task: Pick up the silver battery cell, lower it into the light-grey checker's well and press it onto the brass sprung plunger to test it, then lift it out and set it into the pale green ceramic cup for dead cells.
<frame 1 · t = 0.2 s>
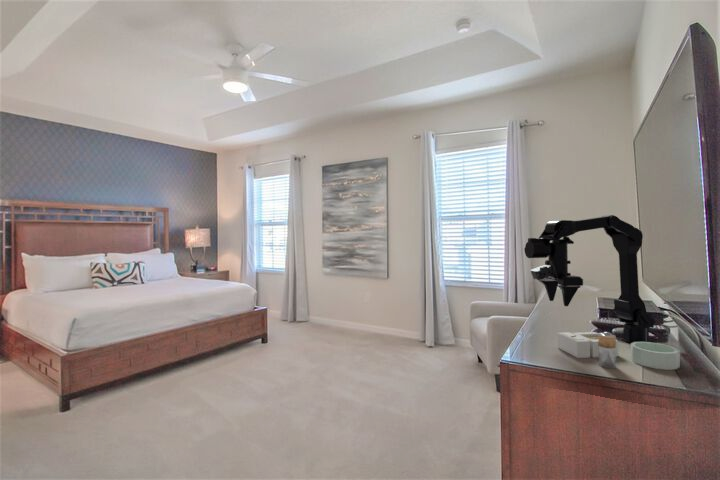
hand: (558, 303, 120), 14 cm above the table, fingers open, 9 cm apart
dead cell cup: (654, 362, 103), on the table
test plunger: (594, 340, 113), point 4 cm above the table, slide at 0.0 cm
battery cell: (607, 365, 101), on the table
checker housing: (594, 351, 113), on the table
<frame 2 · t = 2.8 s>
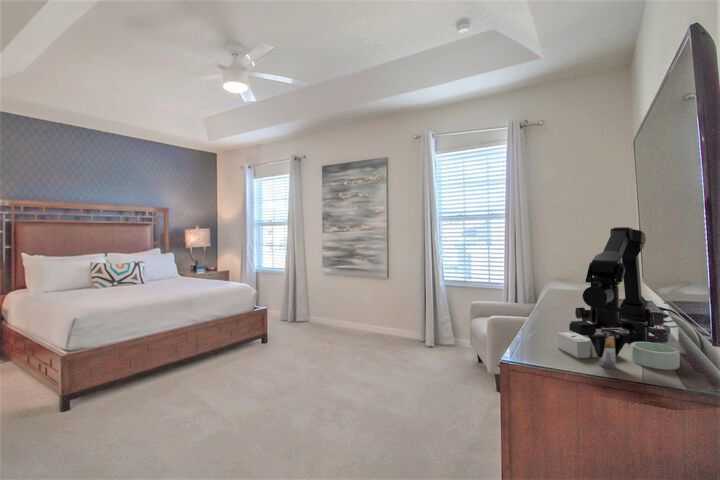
hand: (607, 357, 101), 3 cm above the table, fingers closed on battery cell, 4 cm apart
battery cell: (607, 365, 101), on the table, touching gripper
everything else where it was.
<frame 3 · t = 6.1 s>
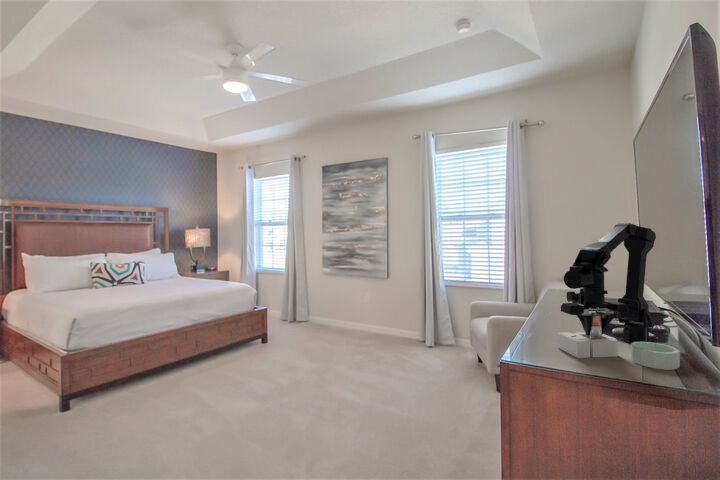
hand: (594, 334, 113), 5 cm above the table, fingers closed on battery cell, 4 cm apart
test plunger: (594, 344, 113), point 2 cm above the table, slide at -1.2 cm, touching battery cell
battery cell: (594, 342, 113), point 3 cm above the table, touching gripper, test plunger
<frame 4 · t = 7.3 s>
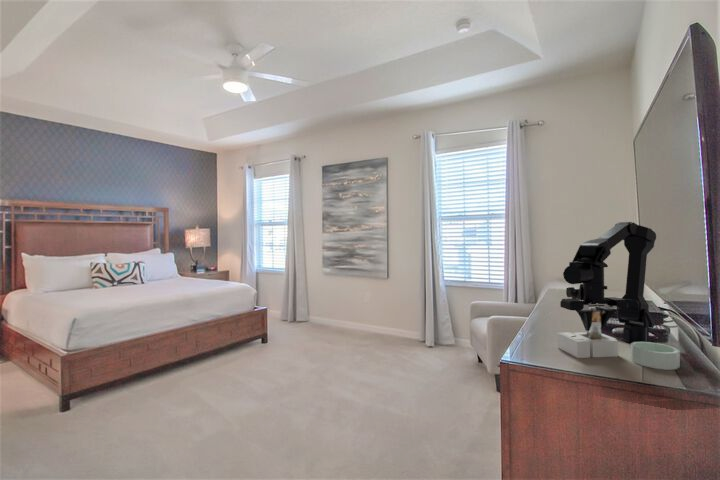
hand: (593, 330, 113), 7 cm above the table, fingers closed on battery cell, 4 cm apart
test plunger: (594, 342, 113), point 3 cm above the table, slide at -0.6 cm
battery cell: (594, 338, 113), point 4 cm above the table, touching gripper
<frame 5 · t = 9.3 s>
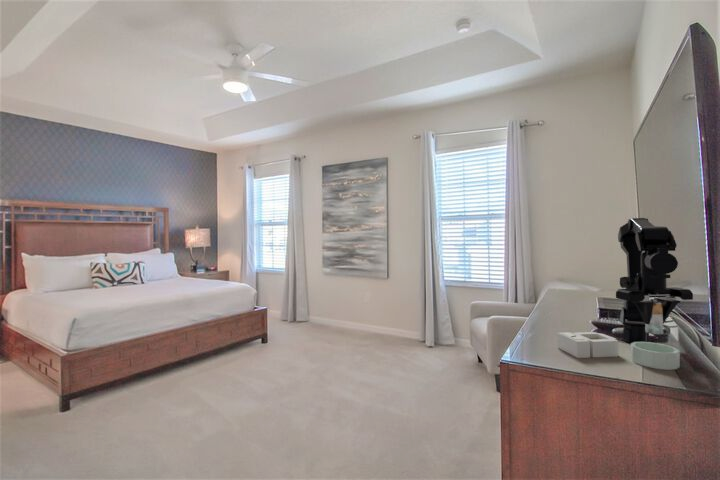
hand: (653, 323, 103), 11 cm above the table, fingers closed on battery cell, 4 cm apart
battery cell: (654, 332, 103), point 9 cm above the table, touching gripper
everything else where it was.
when the fingers open (5 cm above the table, at t = 10.6 s): battery cell drops 2 cm, resting on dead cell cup.
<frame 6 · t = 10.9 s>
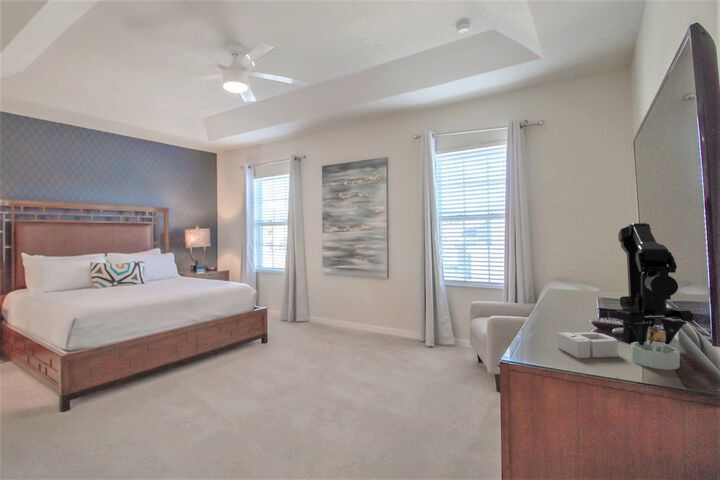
hand: (654, 344, 103), 5 cm above the table, fingers open, 7 cm apart
battery cell: (654, 359, 103), point 1 cm above the table, touching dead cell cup
everything else where it was.
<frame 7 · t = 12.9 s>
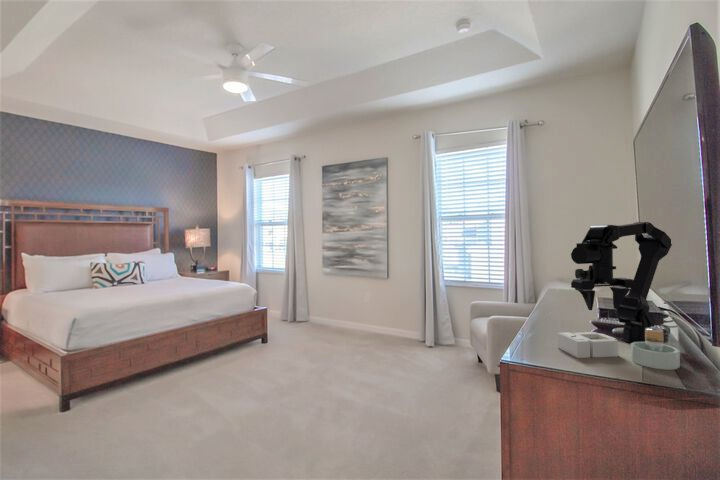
hand: (602, 309, 118), 12 cm above the table, fingers open, 9 cm apart
nothing on the table moved.
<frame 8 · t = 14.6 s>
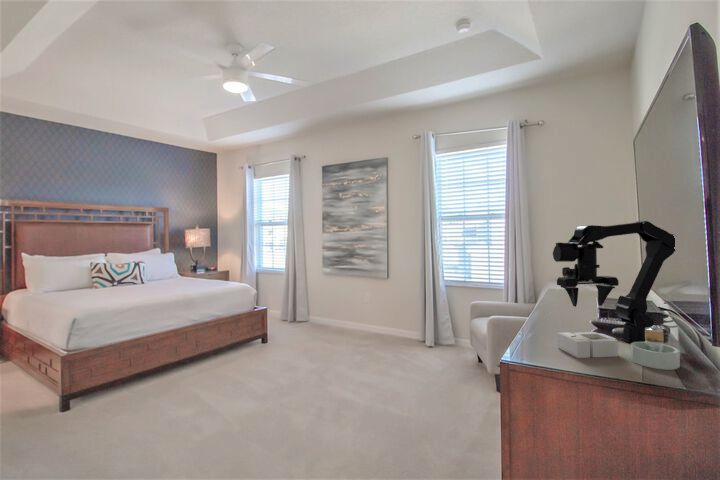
hand: (587, 306, 123), 12 cm above the table, fingers open, 9 cm apart
nothing on the table moved.
at the end: battery cell inside the target area on the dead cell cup (0.0 cm from its centre), point 0.8 cm above the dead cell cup's base; the gripper is holding nothing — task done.
